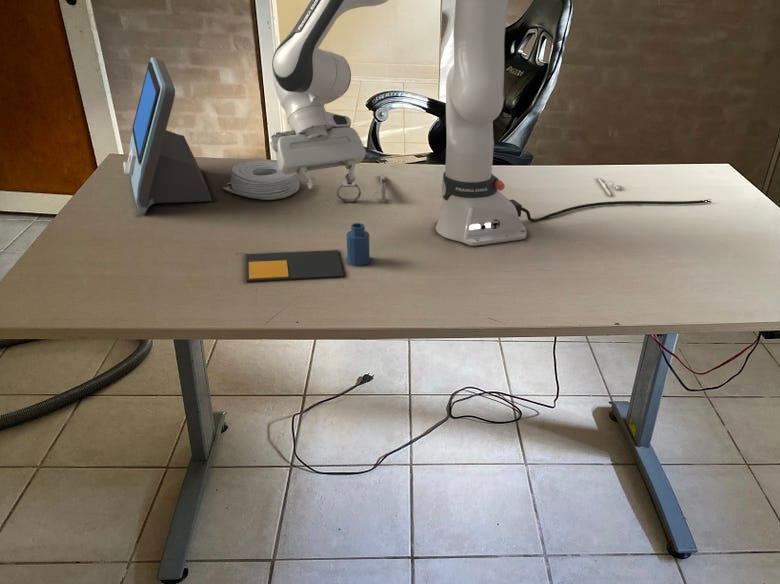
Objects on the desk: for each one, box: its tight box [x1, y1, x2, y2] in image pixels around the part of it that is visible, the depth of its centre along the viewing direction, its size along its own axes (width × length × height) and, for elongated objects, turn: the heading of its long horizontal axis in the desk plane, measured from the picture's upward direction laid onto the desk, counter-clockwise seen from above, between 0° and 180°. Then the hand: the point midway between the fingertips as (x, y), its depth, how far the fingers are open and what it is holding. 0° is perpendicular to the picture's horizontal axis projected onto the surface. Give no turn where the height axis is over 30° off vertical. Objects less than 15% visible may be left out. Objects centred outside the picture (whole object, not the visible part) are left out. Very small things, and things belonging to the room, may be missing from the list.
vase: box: [346, 222, 370, 267], centre depth 161 cm, size 5×5×8 cm
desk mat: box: [246, 249, 345, 283], centre depth 160 cm, size 20×13×1 cm, turn 104°
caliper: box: [379, 173, 387, 203], centre depth 201 cm, size 20×1×6 cm, turn 7°
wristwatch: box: [336, 181, 362, 203], centre depth 192 cm, size 6×3×5 cm, turn 102°
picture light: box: [598, 178, 621, 196], centre depth 215 cm, size 14×4×2 cm, turn 5°
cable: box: [222, 160, 300, 201], centre depth 195 cm, size 18×18×6 cm
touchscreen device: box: [122, 56, 213, 215], centre depth 186 cm, size 35×20×30 cm, turn 23°
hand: (333, 184), depth 163 cm, fingers open, 8 cm apart
